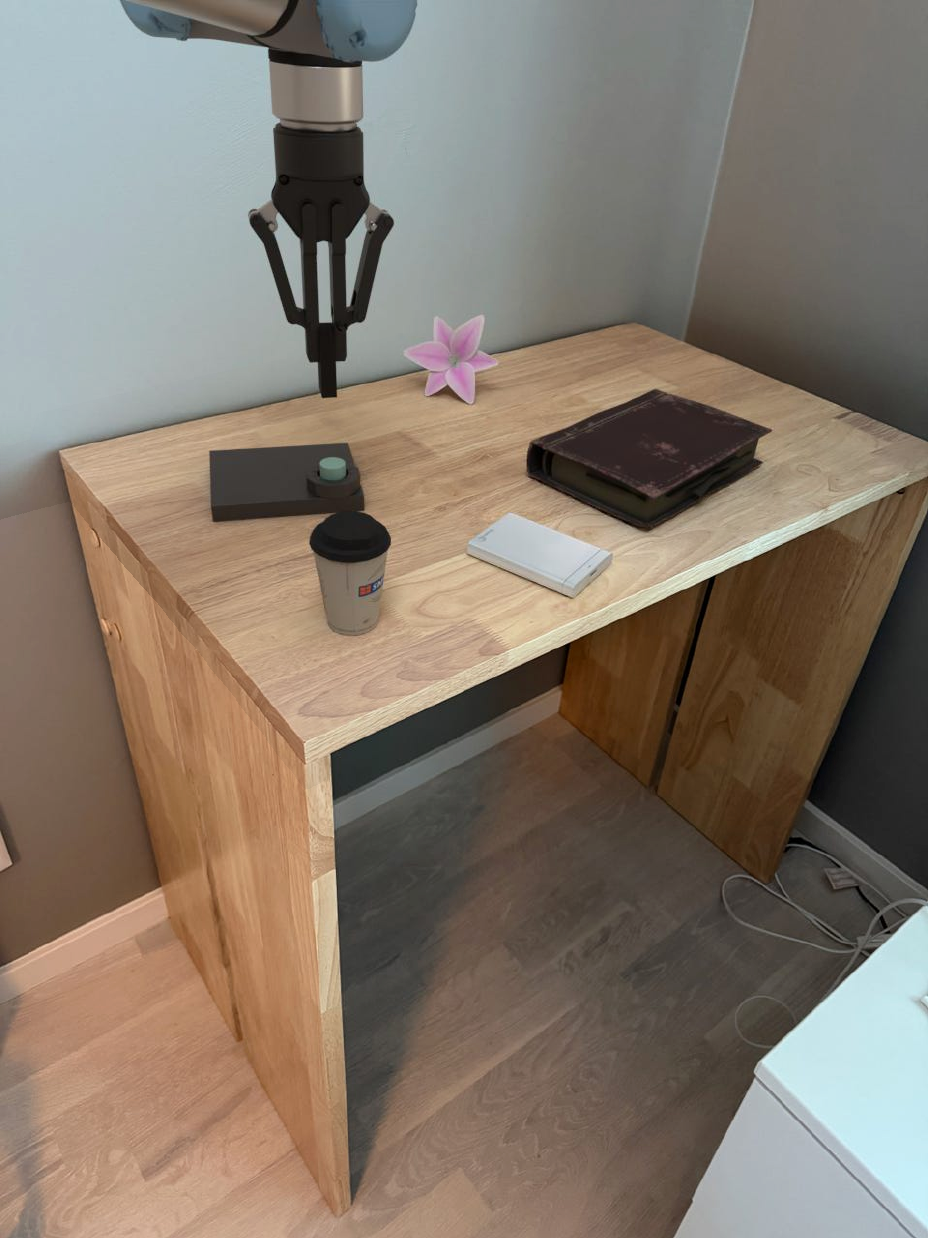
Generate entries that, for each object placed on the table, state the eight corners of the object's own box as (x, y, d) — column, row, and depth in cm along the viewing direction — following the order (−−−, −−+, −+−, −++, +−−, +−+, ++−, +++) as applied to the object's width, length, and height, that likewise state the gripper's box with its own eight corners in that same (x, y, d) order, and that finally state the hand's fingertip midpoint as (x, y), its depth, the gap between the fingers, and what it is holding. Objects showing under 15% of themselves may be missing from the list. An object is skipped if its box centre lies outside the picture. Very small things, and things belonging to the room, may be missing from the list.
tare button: (321, 482, 94) (320, 469, 93) (318, 470, 96) (317, 457, 95) (347, 480, 94) (347, 467, 93) (344, 468, 97) (343, 456, 96)
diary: (522, 474, 104) (526, 435, 101) (644, 419, 119) (651, 383, 116) (652, 537, 94) (661, 496, 91) (767, 468, 109) (778, 430, 106)
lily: (394, 388, 126) (392, 342, 117) (447, 339, 130) (449, 291, 121) (458, 434, 123) (461, 391, 114) (510, 383, 127) (517, 338, 118)
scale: (213, 523, 92) (208, 493, 90) (211, 465, 102) (207, 437, 100) (365, 511, 95) (364, 483, 93) (348, 456, 106) (347, 429, 104)
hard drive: (466, 541, 89) (574, 585, 83) (510, 510, 94) (614, 549, 89) (465, 555, 90) (571, 600, 84) (509, 523, 95) (611, 563, 90)
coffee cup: (299, 629, 78) (291, 533, 72) (339, 590, 83) (335, 497, 77) (367, 652, 76) (365, 555, 70) (404, 610, 81) (405, 517, 75)
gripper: (387, 118, 78) (385, 375, 92) (236, 113, 75) (258, 380, 89) (403, 132, 72) (399, 404, 86) (240, 127, 69) (263, 410, 83)
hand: (327, 392), depth 87 cm, fingers closed
